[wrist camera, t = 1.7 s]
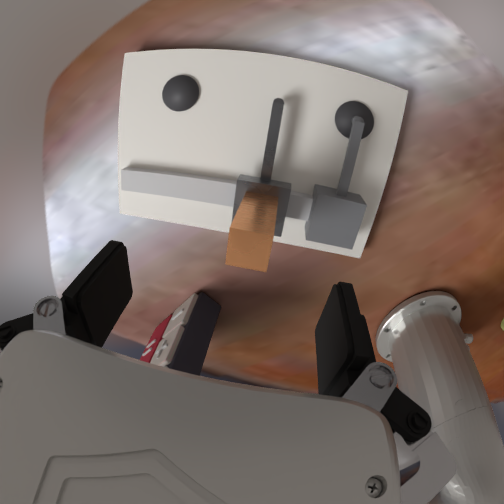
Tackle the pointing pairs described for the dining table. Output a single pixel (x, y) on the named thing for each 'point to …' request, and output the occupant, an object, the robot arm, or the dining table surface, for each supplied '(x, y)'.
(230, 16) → the dining table surface
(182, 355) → the calculator
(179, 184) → the gauge board
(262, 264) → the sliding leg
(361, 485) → the robot arm
